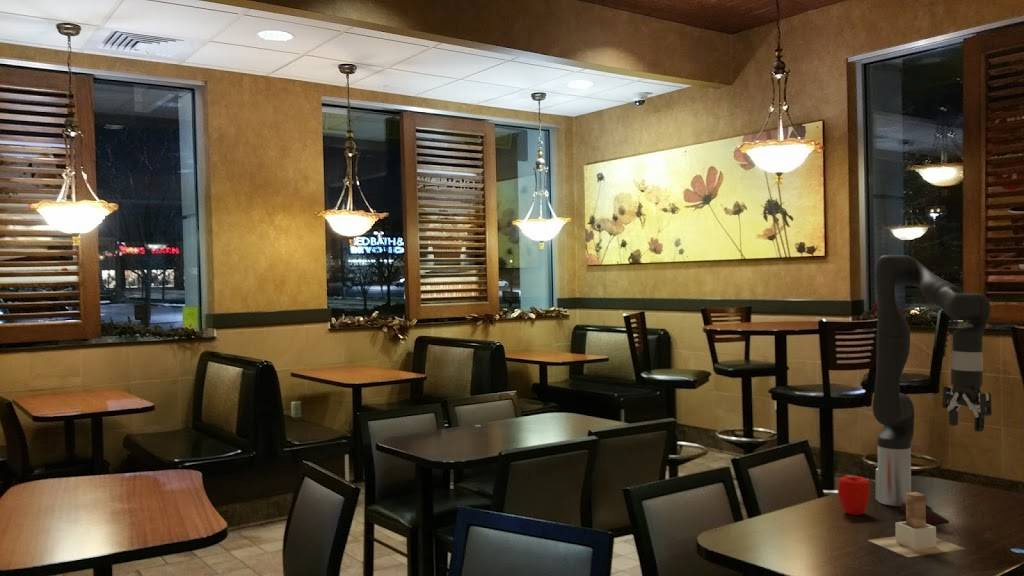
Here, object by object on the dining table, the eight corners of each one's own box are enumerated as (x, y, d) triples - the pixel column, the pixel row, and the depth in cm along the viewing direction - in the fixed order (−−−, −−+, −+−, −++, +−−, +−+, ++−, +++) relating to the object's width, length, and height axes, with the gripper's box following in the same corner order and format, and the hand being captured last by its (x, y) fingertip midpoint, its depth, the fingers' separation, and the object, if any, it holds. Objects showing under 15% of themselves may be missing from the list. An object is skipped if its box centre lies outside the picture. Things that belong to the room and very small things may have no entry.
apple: (855, 507, 252) (854, 471, 252) (877, 515, 244) (877, 478, 244) (831, 511, 249) (831, 474, 249) (852, 519, 241) (852, 481, 241)
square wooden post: (906, 539, 216) (905, 493, 216) (916, 538, 217) (915, 491, 217) (915, 543, 213) (915, 496, 212) (925, 542, 214) (925, 495, 213)
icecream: (959, 510, 226) (910, 501, 240) (940, 506, 223) (892, 498, 236) (956, 536, 225) (908, 526, 238) (938, 533, 222) (890, 523, 235)
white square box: (895, 541, 217) (895, 522, 217) (916, 539, 219) (916, 520, 219) (915, 549, 211) (914, 529, 211) (936, 546, 213) (936, 527, 213)
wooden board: (867, 543, 219) (867, 540, 219) (922, 536, 224) (922, 532, 224) (907, 561, 205) (907, 557, 205) (965, 552, 211) (965, 548, 211)
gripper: (1000, 370, 220) (999, 432, 221) (957, 364, 234) (956, 422, 234) (976, 371, 218) (975, 434, 218) (935, 365, 232) (934, 424, 232)
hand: (965, 428), depth 226 cm, fingers open, 8 cm apart
